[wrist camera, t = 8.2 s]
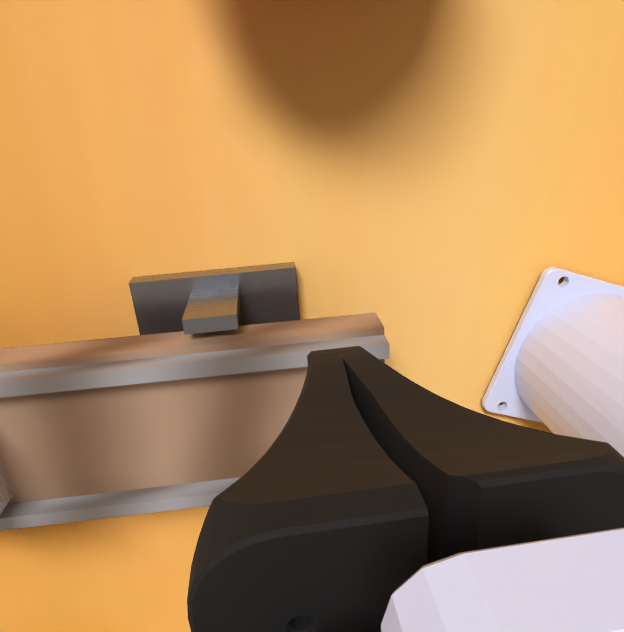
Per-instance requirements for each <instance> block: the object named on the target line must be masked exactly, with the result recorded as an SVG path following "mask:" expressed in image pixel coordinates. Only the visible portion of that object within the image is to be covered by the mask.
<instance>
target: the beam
mask: <svg viewBox="0 0 624 632" xmlns="http://www.w3.org/2000/svg"><path fill="white" fill-rule="evenodd" d="M352 346H360V347H362V348H364V349H365V350H366V351H368V352H369V353H371V354H372V355H373V356H375V357H376V358H378V359H379V360H381V361H382V362H383V363H384V359H387V358H389V343H388V341H387V339H386V337H385V335H384V327H383V325H382V323H381V321H380V319H379V318H378V316H377V314H376V313H368V314H358V315H347V316H337V317H327V318H316V319H306V320H295V321H285V322H274V323H264V324H253V325H243V326H239V328H238V329H234V330H225V331H215V332H206V333H196V334H186V335H184V331H180V332H170V333H159V334H149V335H138V336H128V337H117V338H107V339H96V340H86V341H75V342H65V343H54V344H44V345H34V346H23V347H13V348H2V349H0V459H1V462H2V464H3V467H4V469H5V472H6V475H7V477H8V480H9V482H10V485H11V487H12V490H13V493H14V494H13V496H12V497H11V499H10V500H9V502H8V504H7V505H6V507H5V508H4V510H3V511H2V513H1V514H0V531H1V530H9V529H18V528H26V527H35V526H43V525H52V524H60V523H69V522H77V521H86V520H94V519H103V518H111V517H120V516H128V515H137V514H145V513H154V512H162V511H171V510H179V509H188V508H196V507H205V506H210V505H211V503H212V500H213V499H214V498H215V497H216V496H217V495H219V494H220V493H222V492H223V491H224V490H225V489H227V488H228V487H229V486H231V485H232V484H233V483H234V482H236V481H237V480H238V479H240V478H241V477H242V476H243V475H245V474H246V473H247V472H248V471H249V470H250V469H251V468H252V467H253V466H254V465H255V464H256V463H257V461H258V460H259V459H260V458H261V457H262V456H263V455H264V454H265V453H266V452H267V450H268V449H269V448H270V447H271V445H272V444H273V442H274V441H275V440H276V438H277V437H278V435H279V434H280V433H281V431H282V430H283V428H284V426H285V425H286V423H287V421H288V419H289V418H290V416H291V414H292V412H293V410H294V408H295V405H296V403H297V401H298V398H299V396H300V394H301V391H302V388H303V385H304V381H305V378H306V374H307V369H308V362H307V355H308V354H309V353H310V352H311V351H317V350H326V349H335V348H343V347H352Z"/></svg>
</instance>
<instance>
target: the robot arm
mask: <svg viewBox="0 0 624 632" xmlns="http://www.w3.org/2000/svg"><path fill="white" fill-rule="evenodd" d="M562 277H564V280H563V282H562V283H560V284H558V281H559V279H560V278H562ZM307 362H308V369H307V374H306V378H305V381H304V385H303V388H302V391H301V394H300V396H299V398H298V401H297V403H296V405H295V408H294V410H293V412H292V414H291V416H290V418H289V419H288V421H287V423H286V425H285V426H284V428H283V430H282V431H281V433H280V434H279V435H278V437H277V438H276V440H275V441H274V442H273V444H272V445H271V447H270V448H269V449H268V450H267V452H266V453H265V454H264V455H263V456H262V457H261V458H260V459H259V460H258V461H257V463H256V464H255V465H254V466H253V467H252V468H251V469H250V470H249V471H248V472H247V473H246V474H245V475H243V476H242V477H241V478H240V479H238V480H237V481H236V482H234V483H233V484H232V485H231V486H229V487H228V488H227V489H225V490H224V491H223V492H222V493H220V494H219V495H217V496H216V497H215V498H214V499H213V500H212V503H211V505H210V507H209V510H208V513H207V515H206V518H205V520H204V523H203V526H202V529H201V532H200V535H199V538H198V542H197V546H196V549H195V553H194V557H193V561H192V566H191V573H190V581H189V589H188V598H187V605H188V620H189V624H190V628H191V632H624V286H620V285H617V284H613V283H609V282H606V281H602V280H599V279H595V278H592V277H588V276H585V275H581V274H578V273H574V272H570V271H567V270H563V269H560V268H556V267H550V268H547V269H546V270H544V271H543V273H542V274H541V276H540V278H539V281H538V283H537V285H536V287H535V289H534V291H533V293H532V295H531V298H530V300H529V302H528V304H527V306H526V308H525V310H524V312H523V314H522V317H521V319H520V321H519V323H518V325H517V327H516V329H515V331H514V334H513V336H512V338H511V340H510V342H509V344H508V346H507V348H506V350H505V353H504V355H503V357H502V359H501V361H500V363H499V365H498V367H497V370H496V372H495V374H494V376H493V378H492V380H491V382H490V384H489V386H488V389H487V391H486V393H485V395H484V397H483V399H482V406H483V407H484V408H485V409H486V411H488V412H492V413H497V414H502V415H507V416H512V417H517V418H522V419H527V420H532V421H537V422H541V423H544V424H545V425H546V426H547V427H548V428H549V429H550V430H551V431H552V432H553V433H548V432H544V431H539V430H535V429H531V428H527V427H523V426H519V425H515V424H512V423H508V422H505V421H502V420H499V419H496V418H493V417H490V416H487V415H484V414H481V413H478V412H475V411H472V410H470V409H467V408H465V407H462V406H460V405H458V404H456V403H453V402H451V401H449V400H447V399H444V398H442V397H440V396H438V395H436V394H434V393H432V392H430V391H428V390H427V389H425V388H423V387H421V386H419V385H418V384H416V383H414V382H412V381H411V380H409V379H408V378H406V377H404V376H403V375H401V374H400V373H398V372H397V371H395V370H394V369H392V368H391V367H389V366H388V365H386V364H385V363H383V362H382V361H381V360H379V359H378V358H376V357H375V356H373V355H372V354H371V353H369V352H368V351H366V350H365V349H364V348H362V347H360V346H352V347H343V348H335V349H326V350H317V351H311V352H310V353H309V354H308V355H307ZM501 402H503V404H502V405H501V406H498V405H499V403H501Z"/></svg>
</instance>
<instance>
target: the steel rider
mask: <svg viewBox="0 0 624 632" xmlns="http://www.w3.org/2000/svg"><path fill="white" fill-rule="evenodd" d="M13 494H14V493H13V490H12V487H11V485H10V482H9V480H8V477H7V475H6V472H5V469H4V467H3V464H2V462H1V459H0V514H1V513H2V511H3V510H4V508H5V507H6V505H7V504H8V502H9V500H10V499H11V497H12V496H13Z"/></svg>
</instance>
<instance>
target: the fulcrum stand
mask: <svg viewBox="0 0 624 632" xmlns="http://www.w3.org/2000/svg"><path fill="white" fill-rule="evenodd" d="M129 286H130V291H131V295H132V300H133V304H134V309H135V313H136V318H137V322H138V327H139V332H140V335H149V334H159V333H170V332H180V331H184V335H186V334H196V333H206V332H215V331H225V330H234V329H238V328H239V326H243V325H253V324H264V323H274V322H285V321H295V320H299V309H298V297H297V284H296V272H295V265H294V262H291V263H281V264H270V265H260V266H249V267H238V268H228V269H217V270H206V271H196V272H185V273H175V274H164V275H153V276H143V277H133V278H132V280H131V281H130V282H129Z"/></svg>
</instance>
